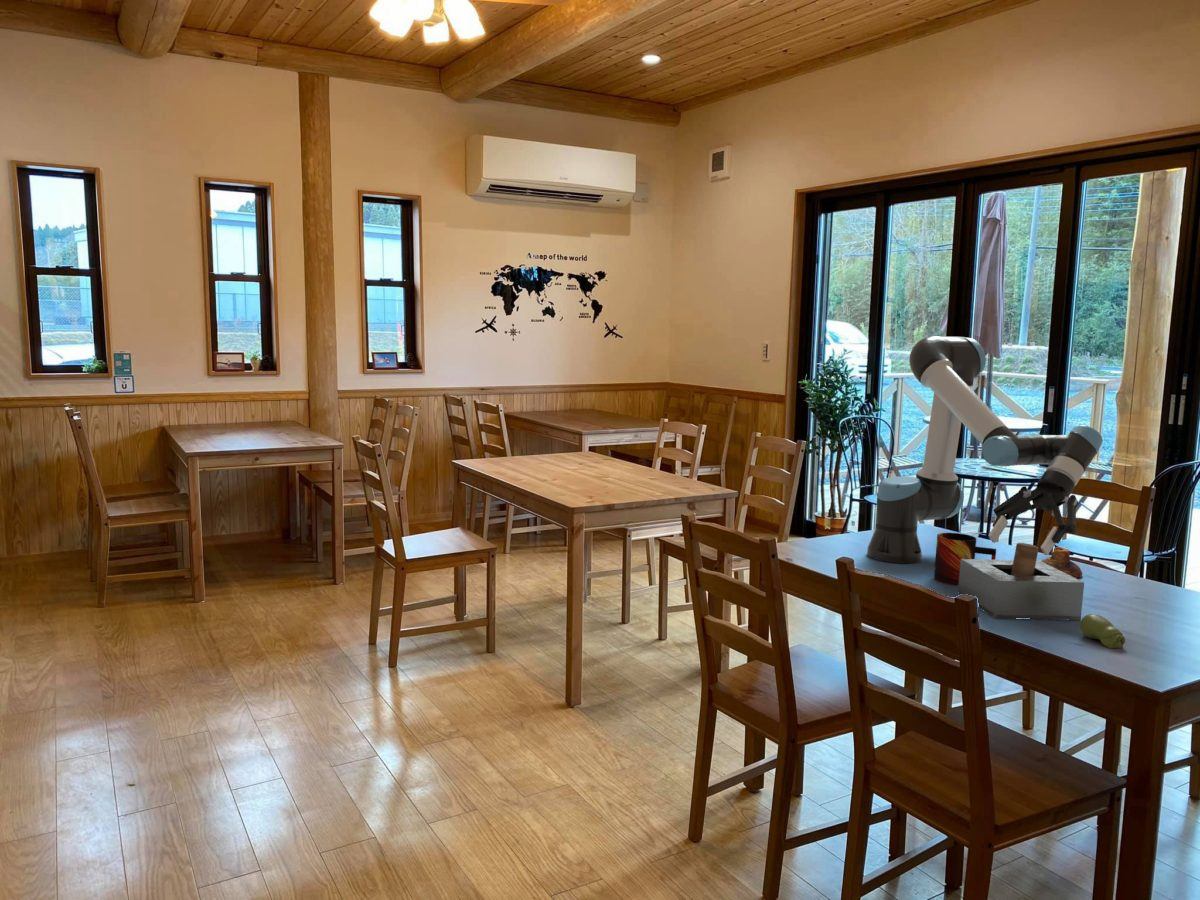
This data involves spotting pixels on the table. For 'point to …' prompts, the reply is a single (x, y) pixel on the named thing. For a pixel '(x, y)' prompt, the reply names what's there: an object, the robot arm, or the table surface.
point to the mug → (955, 555)
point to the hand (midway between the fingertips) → (1017, 545)
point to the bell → (1063, 562)
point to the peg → (1024, 559)
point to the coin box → (1021, 590)
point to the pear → (1102, 631)
